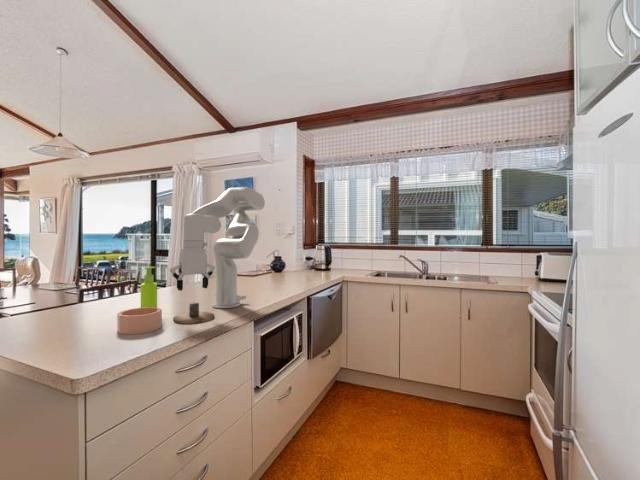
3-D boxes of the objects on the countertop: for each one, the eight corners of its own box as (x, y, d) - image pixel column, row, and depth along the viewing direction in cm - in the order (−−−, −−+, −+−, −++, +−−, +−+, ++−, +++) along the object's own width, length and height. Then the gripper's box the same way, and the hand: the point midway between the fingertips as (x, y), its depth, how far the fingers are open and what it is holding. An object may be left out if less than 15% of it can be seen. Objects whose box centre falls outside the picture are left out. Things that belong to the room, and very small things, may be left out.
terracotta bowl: (154, 321, 117) (154, 305, 117) (166, 328, 108) (166, 311, 108) (114, 328, 108) (114, 311, 108) (123, 337, 99) (123, 318, 99)
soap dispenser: (161, 313, 130) (161, 266, 129) (151, 317, 123) (151, 267, 123) (148, 312, 130) (148, 265, 130) (137, 317, 123) (137, 267, 123)
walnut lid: (205, 313, 132) (205, 298, 132) (220, 319, 121) (220, 303, 121) (168, 318, 122) (168, 303, 122) (180, 326, 111) (180, 309, 111)
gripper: (210, 245, 130) (209, 286, 129) (167, 245, 117) (166, 290, 117) (218, 245, 124) (218, 288, 124) (174, 245, 112) (173, 292, 112)
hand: (192, 289), depth 121 cm, fingers open, 9 cm apart
